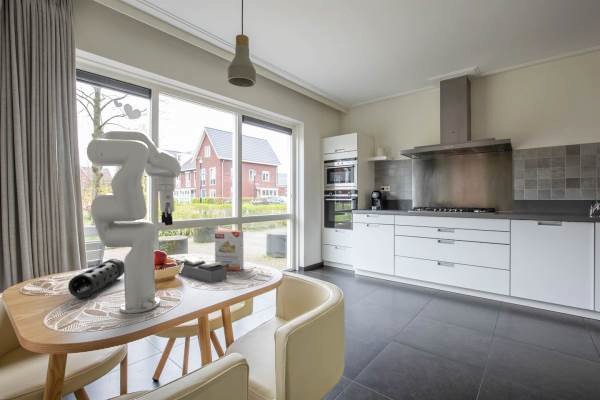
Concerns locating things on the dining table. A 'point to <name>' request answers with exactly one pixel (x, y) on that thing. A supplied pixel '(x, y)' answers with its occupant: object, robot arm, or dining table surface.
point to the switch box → (204, 272)
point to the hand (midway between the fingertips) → (166, 223)
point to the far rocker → (192, 260)
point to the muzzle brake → (95, 278)
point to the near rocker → (210, 264)
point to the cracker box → (229, 249)
